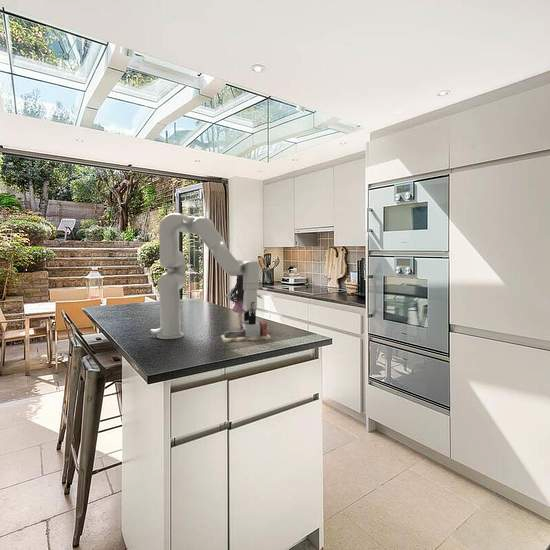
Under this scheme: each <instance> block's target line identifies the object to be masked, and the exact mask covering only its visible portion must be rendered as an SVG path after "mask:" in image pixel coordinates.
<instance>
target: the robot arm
mask: <svg viewBox="0 0 550 550" xmlns="http://www.w3.org/2000/svg"><path fill="white" fill-rule="evenodd" d="M178 232H180V233H186V234H191V235H193V234H194V235H197V236H198V237H199V239H201V241H202V242H203V243H204V245H205V246H206V247H207V248H208V249H209V251H210V253H211V254H212V256H213V258H214V259H215V261H216V263H218V265H219V266H220V267H221V269H222V270H223V271H224V272H225V273H226V274H227V275H228V276H230V277H237V275H243V290H244V296H243V309H244V310H245V312H246V313H243V321H244V320H245V321H247V322H249V325H255V324H256V322H257V320H256V319H257V312H256V311H257V309H258V297H257V294H258V291H259V289H260V286H259V285H260V262H259V261H257V260H240V259H236V258H235V257H234V255H233V254H232V252H230V250H229V249H228V247H227V243H226V241H225V238H224V237H223V236H222V234H220V232H219V231H218V229H216V227H215V223H214V222H213V220H212V219H210V218H208V217H206V216H198V217H196V216H190V215H185V214H183V213H179V212H173V213H172V212H171V213H169V214H167V215H166V216H164V217H163V218H162V220H161V221H160V223H159V228H158V237H159V239H158V240H159V264H160V265H161V267H162V268H163V269H166V270H167V271H165V272H164V273H162V274H160V276H159V277H158V280H157V289H158V295H159V317H160V318H159V320H160V321H159V322H160V326H159V327H158V328H155V329H154V328H153V329H150V334H155V335H156V334H157V335H156V336H157V337H156V338H157V339H161V340H176V339H180V338H183V337H185V333H184V332H183V331H181V330H182V326H181V325H182V324H181V323H182V322H181V319H182V318H181V295H180V290H182V288H184V287H185V284H186V281H187V275H186V274H187V273H186V271H187V270H186V257H185V255H184V253H183V252H182V251H180V250H179V247H178V245H179V241H178V236H177V233H178Z"/></svg>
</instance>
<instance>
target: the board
mask: <svg viewBox="0 0 550 550" xmlns="http://www.w3.org/2000/svg"><path fill="white" fill-rule="evenodd" d="M258 323H260V336H258V337H245V330H243V329H242V330H227V331H224V333H223V334H222V335H220V339H221V338H222V339H221V340H222V341H223V343H232V342H231V341H237V342H249V341H248V340H251V341H263V339H265V340H271V339H272V337H271V335H269V334H268V331H267V330H268V327H267V325H268V323H267V322H265V321H263V320H261V321H260V320H259V321H258Z"/></svg>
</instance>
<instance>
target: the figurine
mask: <svg viewBox="0 0 550 550" xmlns="http://www.w3.org/2000/svg"><path fill="white" fill-rule="evenodd" d="M243 296H244V290H243V275H237V276H236V283H235V285H234V287H233V288H232V289H231V290H230V291H229V292H228V293H227V294H225V296H223V299H227V298H228V297H229V301H231V302H232V305H234V306H233V307H232V309H231V311H232V312H234V313H237V314H238V325H239V329H243V328H242V327H243V322H248V321H245V320H244V319H243V314H244V313H246V312H245V310H244V309H243ZM257 298H259V299H261V300H264V297H262V295H261V294H259V293H257Z"/></svg>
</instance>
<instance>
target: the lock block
mask: <svg viewBox="0 0 550 550" xmlns="http://www.w3.org/2000/svg"><path fill="white" fill-rule="evenodd" d="M242 322H243V324H242V325H243V328H242V330H245V337H258V336H260V323H259V321H256V324H255V325H249V321H247V322H244V321H242Z"/></svg>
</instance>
